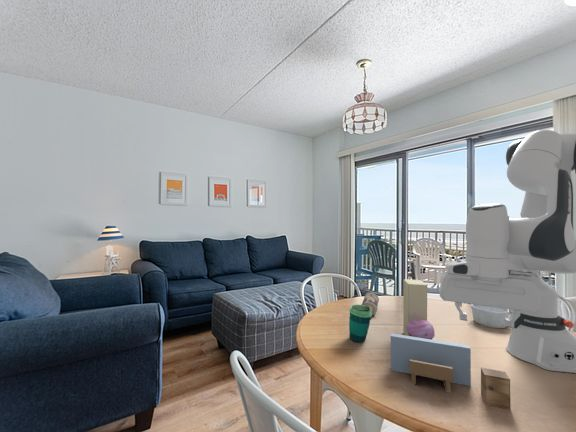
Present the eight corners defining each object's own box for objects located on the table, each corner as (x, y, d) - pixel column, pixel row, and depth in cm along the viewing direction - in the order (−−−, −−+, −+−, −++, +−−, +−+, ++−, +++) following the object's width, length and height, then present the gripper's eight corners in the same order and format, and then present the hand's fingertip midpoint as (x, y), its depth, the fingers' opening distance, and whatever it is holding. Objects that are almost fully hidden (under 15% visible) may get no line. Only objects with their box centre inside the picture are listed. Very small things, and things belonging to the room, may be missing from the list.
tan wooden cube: (505, 400, 66) (505, 371, 66) (511, 410, 62) (511, 380, 63) (481, 395, 68) (480, 367, 68) (485, 405, 64) (485, 375, 65)
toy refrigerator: (429, 343, 97) (429, 284, 97) (408, 341, 98) (407, 283, 98) (423, 334, 104) (422, 279, 105) (403, 332, 106) (402, 279, 106)
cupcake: (401, 343, 97) (401, 315, 97) (425, 342, 97) (424, 314, 97) (415, 355, 88) (415, 325, 88) (440, 354, 88) (440, 324, 88)
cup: (354, 333, 105) (354, 302, 105) (374, 338, 100) (374, 306, 100) (345, 341, 98) (345, 308, 99) (367, 347, 94) (367, 312, 94)
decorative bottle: (364, 303, 142) (364, 291, 143) (379, 305, 140) (379, 292, 140) (357, 320, 119) (357, 305, 119) (375, 323, 116) (375, 307, 116)
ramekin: (515, 331, 107) (515, 314, 107) (477, 327, 111) (476, 310, 111) (501, 319, 119) (501, 304, 120) (467, 316, 124) (467, 301, 124)
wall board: (469, 382, 73) (468, 345, 74) (476, 399, 66) (476, 358, 66) (390, 366, 81) (390, 333, 81) (389, 380, 74) (389, 344, 74)
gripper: (535, 270, 66) (534, 327, 65) (439, 262, 75) (438, 312, 74) (546, 274, 60) (545, 337, 60) (441, 265, 69) (440, 320, 69)
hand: (485, 323), depth 67 cm, fingers open, 8 cm apart
